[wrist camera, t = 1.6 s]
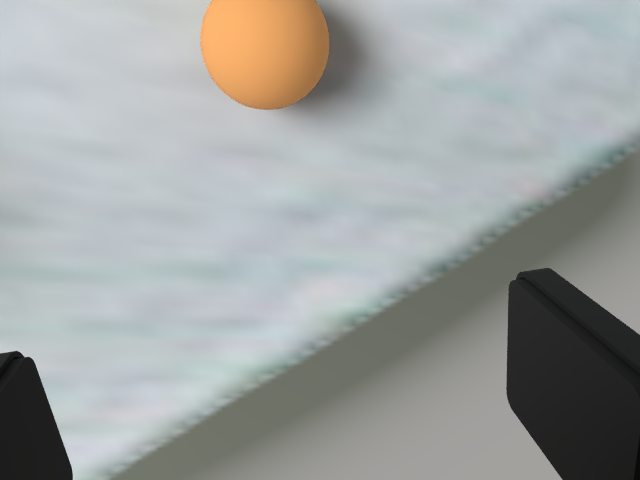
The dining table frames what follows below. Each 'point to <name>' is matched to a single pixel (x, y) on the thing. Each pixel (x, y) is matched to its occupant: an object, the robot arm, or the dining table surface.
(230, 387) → the dining table surface
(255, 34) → the ball
